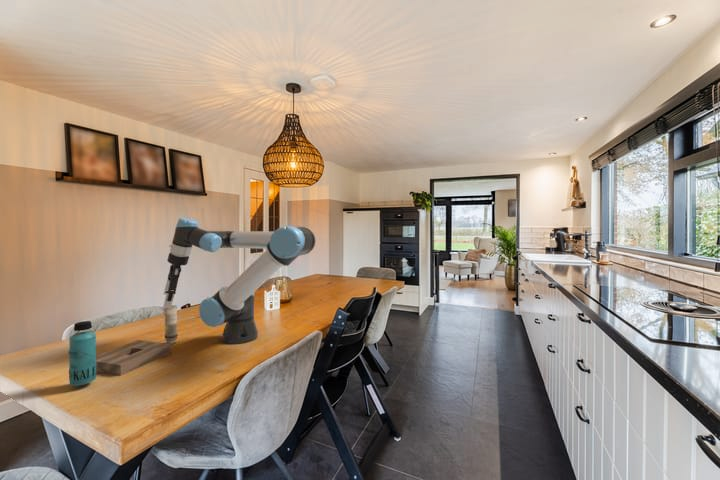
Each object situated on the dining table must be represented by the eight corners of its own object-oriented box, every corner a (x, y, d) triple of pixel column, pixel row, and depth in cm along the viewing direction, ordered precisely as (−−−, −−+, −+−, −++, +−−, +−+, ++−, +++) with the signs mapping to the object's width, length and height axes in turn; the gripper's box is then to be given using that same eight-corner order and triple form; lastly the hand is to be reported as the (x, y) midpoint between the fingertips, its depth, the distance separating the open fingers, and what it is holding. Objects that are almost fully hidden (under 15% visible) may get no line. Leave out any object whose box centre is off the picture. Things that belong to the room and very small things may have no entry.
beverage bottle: (80, 380, 99) (79, 319, 98) (102, 380, 99) (101, 318, 99) (62, 391, 92) (61, 325, 92) (86, 390, 93) (85, 325, 92)
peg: (180, 342, 133) (179, 305, 133) (171, 346, 129) (170, 308, 128) (171, 341, 135) (171, 305, 134) (161, 345, 130) (161, 307, 130)
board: (170, 352, 122) (170, 344, 122) (120, 375, 103) (120, 365, 102) (138, 348, 126) (138, 340, 126) (84, 369, 106) (84, 359, 106)
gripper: (169, 244, 138) (157, 288, 140) (169, 261, 118) (155, 312, 120) (187, 247, 142) (176, 290, 144) (191, 264, 122) (177, 314, 124)
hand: (167, 300), depth 132 cm, fingers open, 13 cm apart
